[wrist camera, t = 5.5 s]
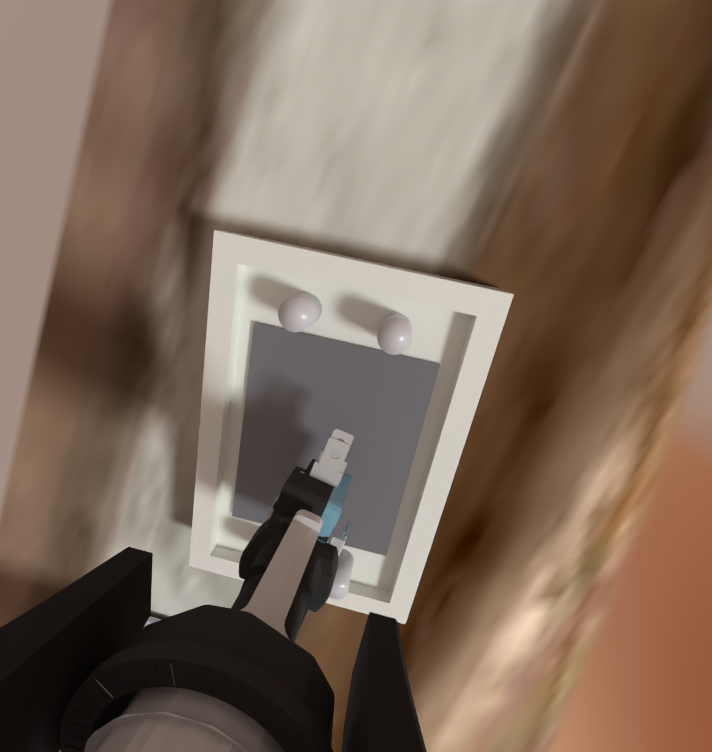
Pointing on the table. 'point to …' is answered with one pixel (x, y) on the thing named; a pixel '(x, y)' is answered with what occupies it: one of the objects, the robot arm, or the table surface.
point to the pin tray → (337, 403)
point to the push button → (232, 646)
